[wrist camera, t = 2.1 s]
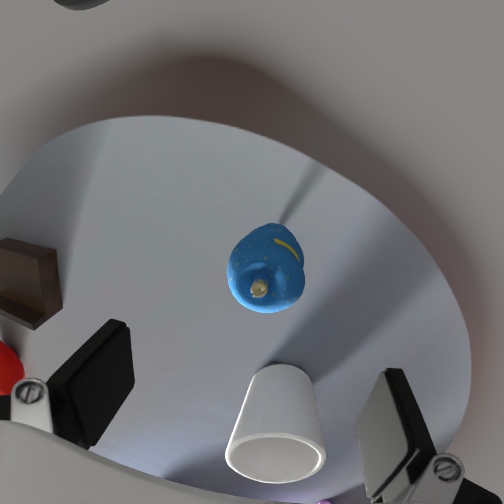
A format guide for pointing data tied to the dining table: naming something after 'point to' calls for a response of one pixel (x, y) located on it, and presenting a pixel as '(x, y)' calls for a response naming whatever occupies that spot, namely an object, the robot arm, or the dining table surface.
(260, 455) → the cup
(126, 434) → the dining table surface
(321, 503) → the teapot
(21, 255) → the shelf
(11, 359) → the tomato
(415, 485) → the robot arm
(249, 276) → the ornament
